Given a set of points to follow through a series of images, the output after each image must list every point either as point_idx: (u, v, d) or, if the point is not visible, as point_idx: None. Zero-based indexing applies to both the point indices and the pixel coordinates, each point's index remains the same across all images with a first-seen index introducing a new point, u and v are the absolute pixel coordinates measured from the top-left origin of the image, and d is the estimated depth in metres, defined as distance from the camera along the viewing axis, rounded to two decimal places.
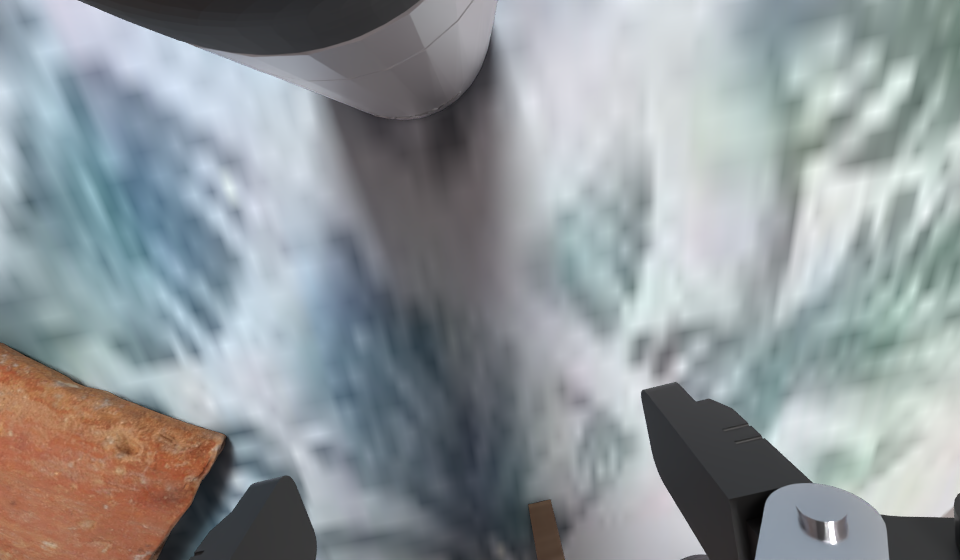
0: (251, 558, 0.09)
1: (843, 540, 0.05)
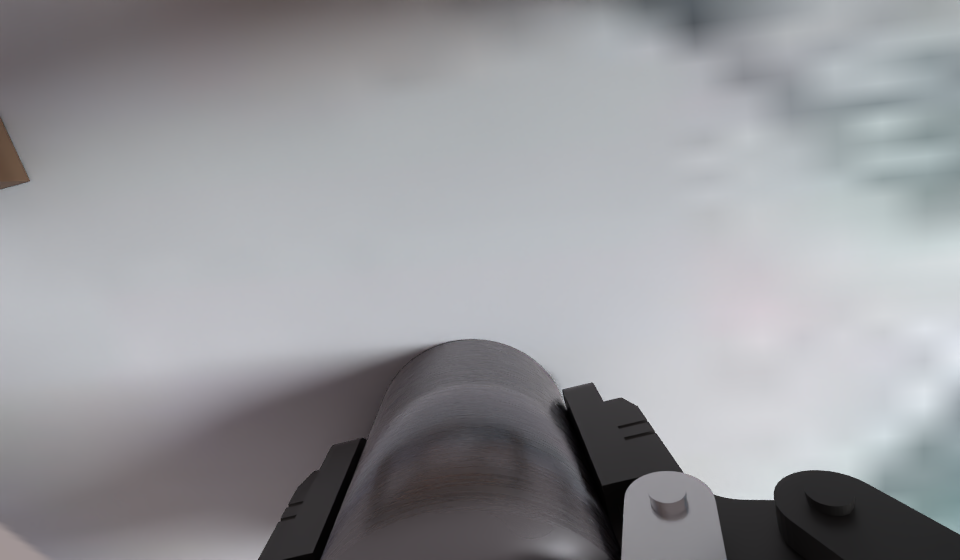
0: None
1: (678, 518, 0.06)
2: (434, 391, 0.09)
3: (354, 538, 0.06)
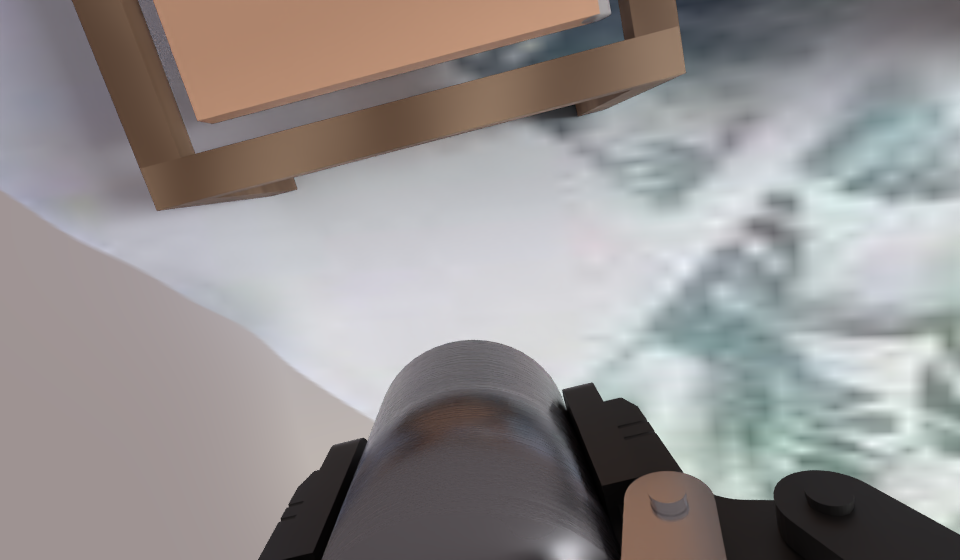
0: None
1: (677, 518, 0.06)
2: (435, 392, 0.09)
3: (356, 538, 0.06)
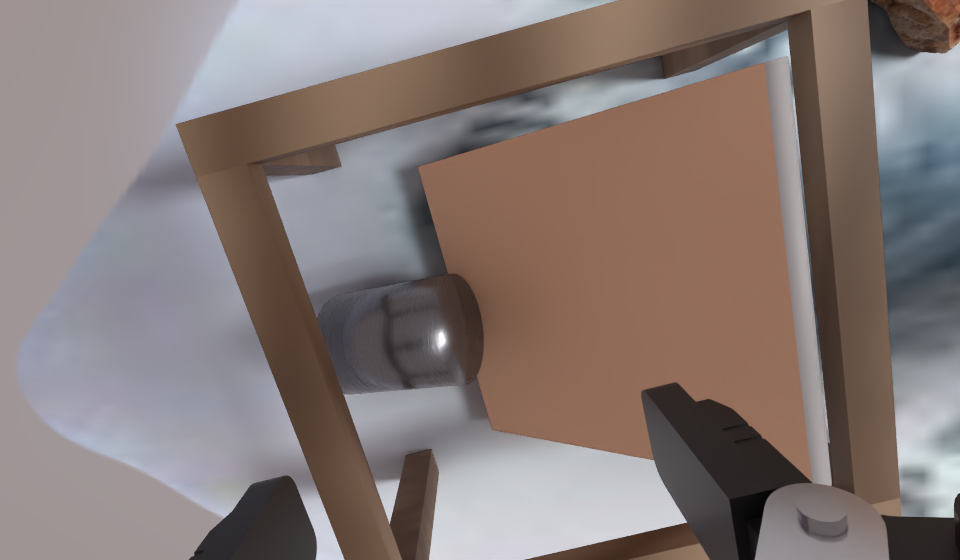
0: (251, 558, 0.09)
1: (843, 540, 0.05)
2: (396, 284, 0.21)
3: None
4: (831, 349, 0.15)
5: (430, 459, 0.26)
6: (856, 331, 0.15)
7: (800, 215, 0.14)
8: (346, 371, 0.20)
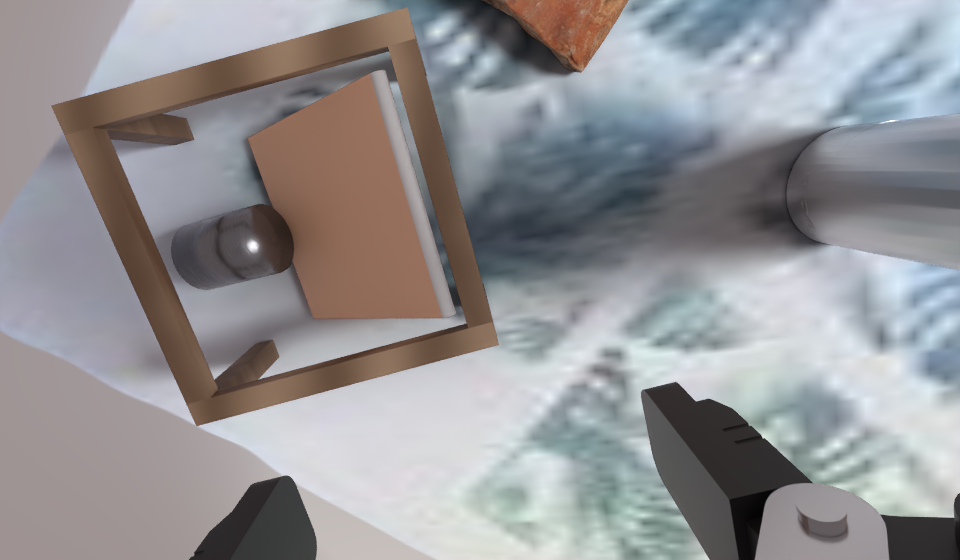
0: (251, 558, 0.09)
1: (843, 540, 0.05)
2: (228, 213, 0.33)
3: None
4: None
5: (268, 344, 0.37)
6: (446, 221, 0.27)
7: (403, 155, 0.26)
8: (193, 267, 0.32)
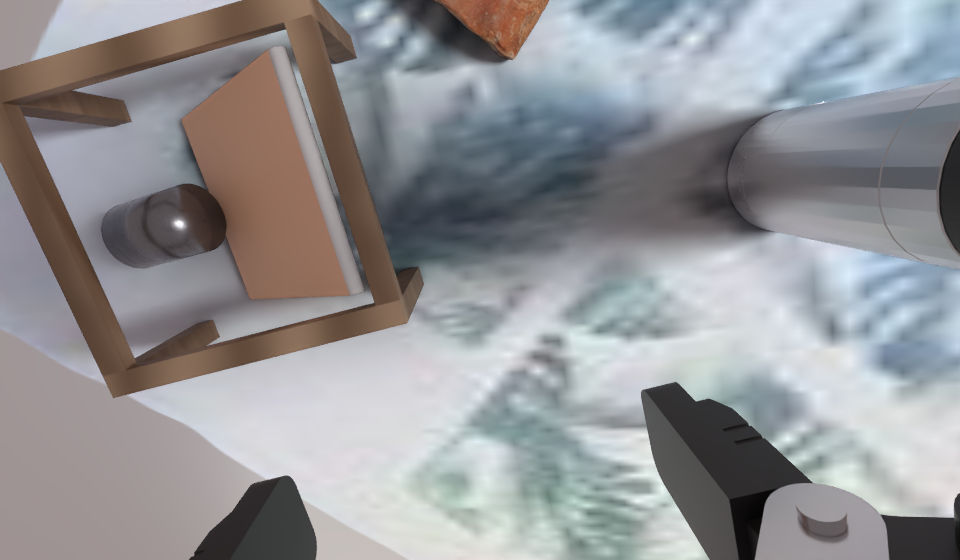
0: (251, 558, 0.09)
1: (843, 540, 0.05)
2: None
3: None
4: None
5: (207, 324, 0.38)
6: (349, 198, 0.27)
7: (304, 131, 0.26)
8: (121, 244, 0.32)
